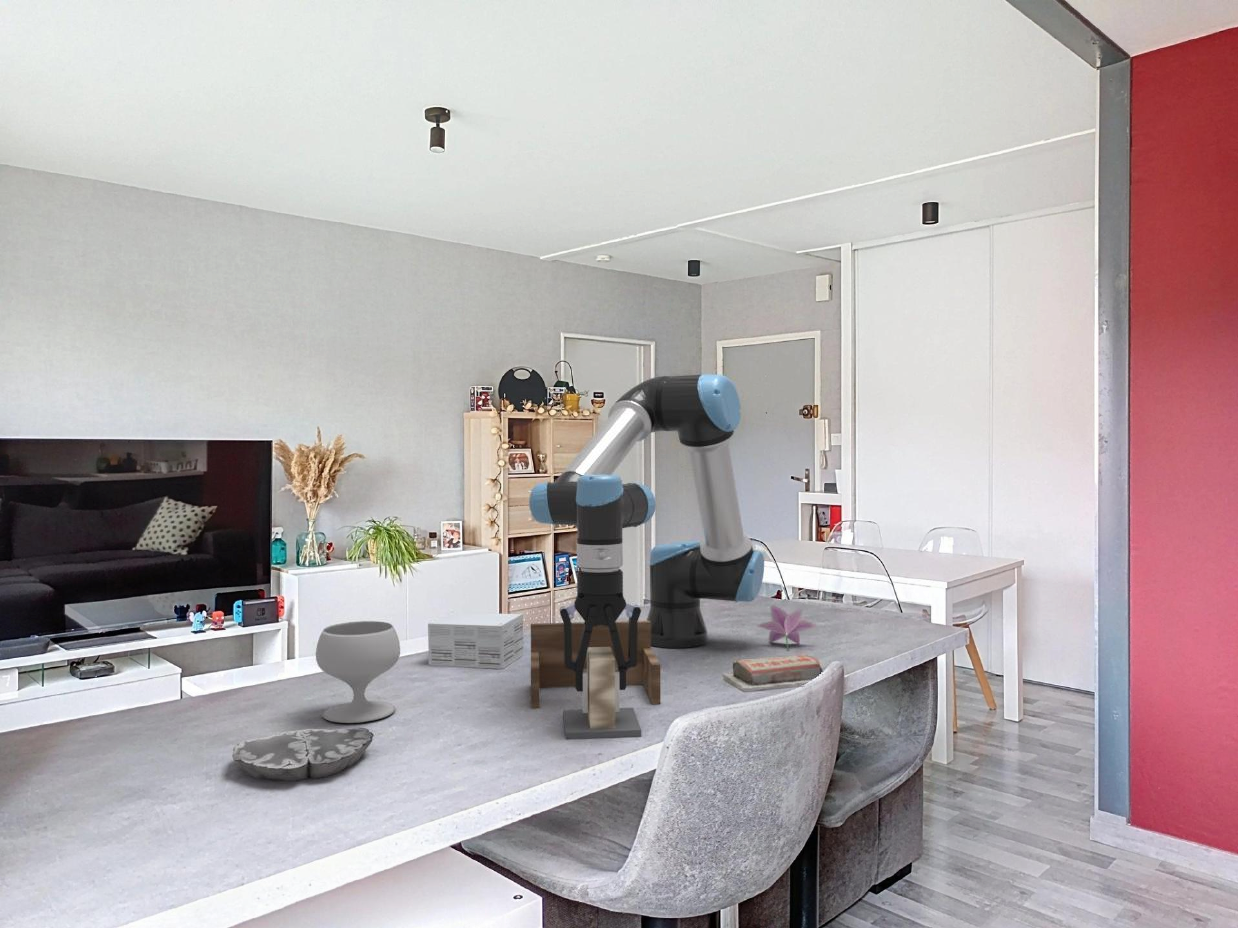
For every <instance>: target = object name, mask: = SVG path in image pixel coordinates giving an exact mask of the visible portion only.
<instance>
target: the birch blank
mask: <svg viewBox="0 0 1238 928" xmlns="http://www.w3.org/2000/svg"><path fill="white" fill-rule="evenodd" d="M587 673H588V713H587V714H588V719H589V724H590V729H599V728H615V658H614V656H613V653H612V650H611V647H588V650H587Z"/></svg>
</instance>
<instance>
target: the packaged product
mask: <svg viewBox="0 0 1238 928" xmlns="http://www.w3.org/2000/svg"><path fill="white" fill-rule="evenodd" d="M732 671H733V672H724V673H722V677H723V680H724V681H725V682H726V683H728V684H730V685H732V686H734V687H735V688H737V689H738V690H740V691H741V690H742V692H744V693H750V692H751V693H752V692H757V691H768V690H769V691H770V690H778V689H779V690H780V689H781V690H782V689H790V688H800V687H799V686H801V685H804V684H806V683H808V682H809V681H812V679H814V678H816V677H817V676H819V674H821V672H824V670H823V668H822V666H821V663H820V662H819V659H817V658H815V657H813V656H810V655H808V654H795V655H781V656H770V657H759V658H747V659H746V658H745V659H738V660H735V661H734V662H732Z"/></svg>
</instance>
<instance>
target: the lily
mask: <svg viewBox="0 0 1238 928" xmlns="http://www.w3.org/2000/svg"><path fill="white" fill-rule="evenodd" d="M769 609H770V617H771V620H770V621H766V622H762V623H760V624H757V626H758V627H759V628H762V629H766V630H769V634H768V643H773V642H776V641H778V640H780V639H782V638H783V639H784V638H785V643H786V649H787V650H786V651H788V652H789V641H788V639H789V640H790V641H792V642H793V643H796V644H798V645H799V644H800V642H801V641H800V634H799V632H800V633H801V632H802V631H805V630H809V629H813V628H817V627H818V625H817V624H816V623H815V622H812V621H809V620H807V619H806V620H805V619H801V618H802V615H803V609H798V610H796V611H794V612H791V613H787V612H786V610H784V609H782V608H781V607H779V606H777V605H774V604H770V607H769Z"/></svg>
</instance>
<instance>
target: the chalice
mask: <svg viewBox="0 0 1238 928" xmlns="http://www.w3.org/2000/svg"><path fill="white" fill-rule="evenodd" d="M400 655H401V645H400V640H399V636H398V633H397V631H396V628H395V627H394V625H392V623H389V622H387V621H386V622H384V621H375V620H360V621H359V620H358V621H348V622H347V621H346V622H340V623H336V624H332V625H329V626H326V627H325V628H324V629H323V630H322V632H321V634H320V635H319V638H318V641H317V643H316V649H315V660H316V661H315V662H316V664H317V666H318V668H320V670H321V671H322V672H324V673H325V674H327V675H329V676H331V677H333V678H335V679H338V680H339V681H341V682H344V683H345V684H347V685H348V686H349V688H351V690H352V693H353V698H352V700H351V701H350V702H344V703H340V704H336V705H333V706H331V707H329V708H327V709H326V710H325V711H323V712H322V714H321V715H322V718H323V719H324V720H327V721H329V722H332V723H340V724H342V723H343V724H355V723H365V722H366V723H367V722H371V721H373V722H374V721H376V720H380V719H384V718H386V717H389V716H390V715H392V714H393V713H395V711H396V707H395V706H394V705H393V704H392V703H390V702H385V701H380V700H367V698H366V695H365V693H366V689H367V688H368V685H369V684H370V683H371V682H372V681H374V680H375V679H376V678H378V677H380V676H381V675H383V674H384V673H386V672H388V671H389V670H391V669H392V668H393V667H394V666H395V665H396V664H397V663H398V661H399V658H400Z"/></svg>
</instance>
